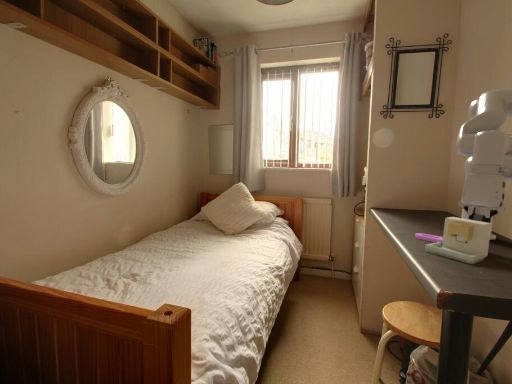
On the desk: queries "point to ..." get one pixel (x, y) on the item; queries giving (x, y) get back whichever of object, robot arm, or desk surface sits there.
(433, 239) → the bracket
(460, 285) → the desk surface
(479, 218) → the grey upright plate
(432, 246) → the tray
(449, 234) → the block
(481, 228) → the block
